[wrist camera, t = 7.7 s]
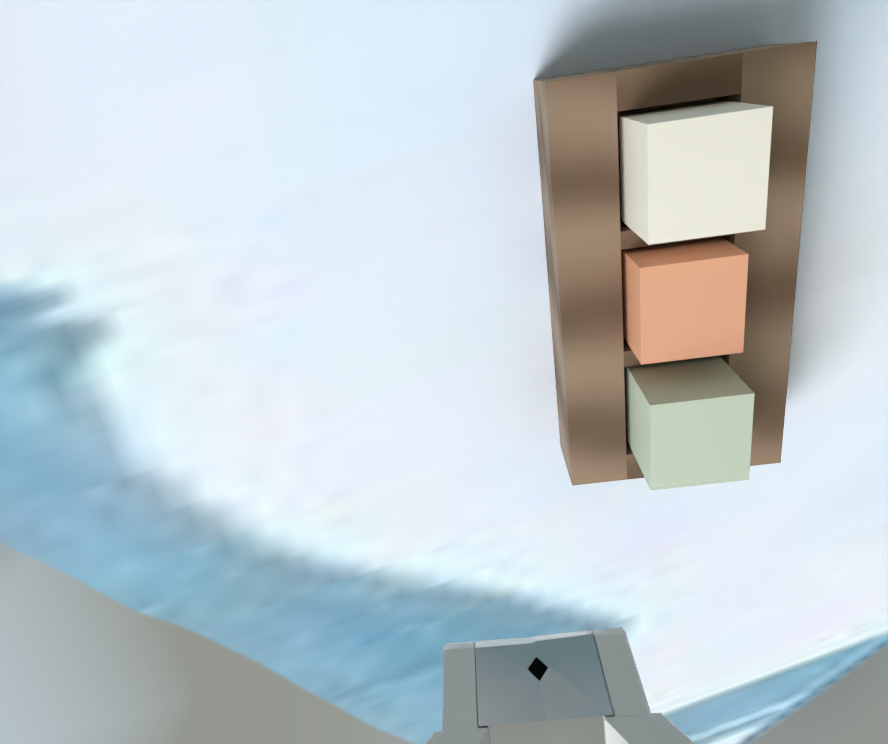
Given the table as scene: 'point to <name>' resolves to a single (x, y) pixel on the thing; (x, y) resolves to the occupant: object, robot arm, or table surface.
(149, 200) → the table surface
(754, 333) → the board
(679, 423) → the sage key
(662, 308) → the terracotta key
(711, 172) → the cream key
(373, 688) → the table surface
